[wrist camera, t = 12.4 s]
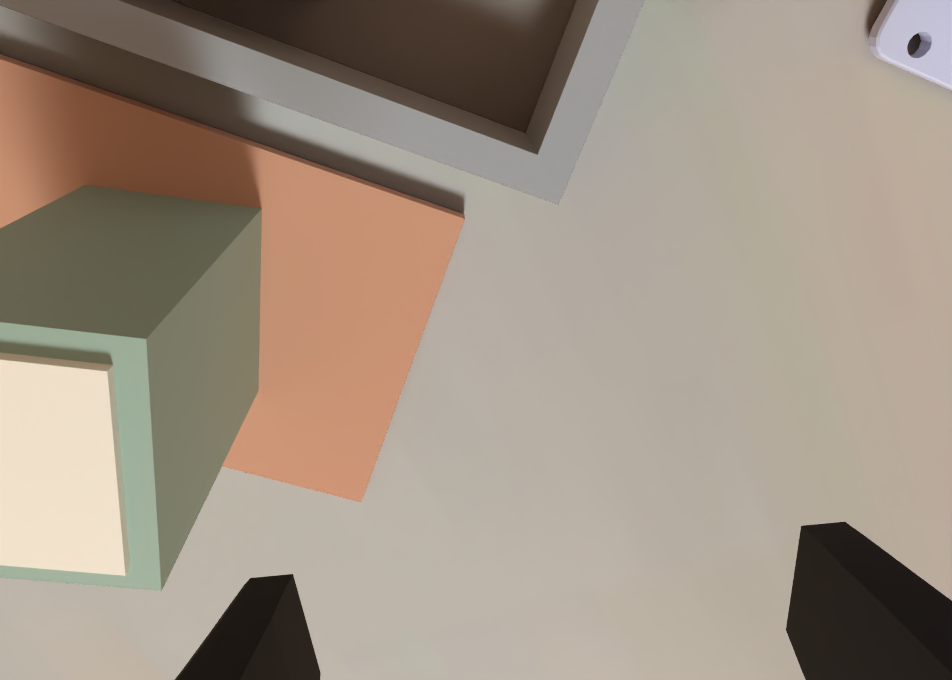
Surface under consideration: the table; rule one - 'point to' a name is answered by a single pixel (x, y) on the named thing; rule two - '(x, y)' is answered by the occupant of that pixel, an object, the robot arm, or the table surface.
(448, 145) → the parts bin
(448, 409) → the table surface
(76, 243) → the labelled box
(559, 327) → the table surface
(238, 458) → the mat
